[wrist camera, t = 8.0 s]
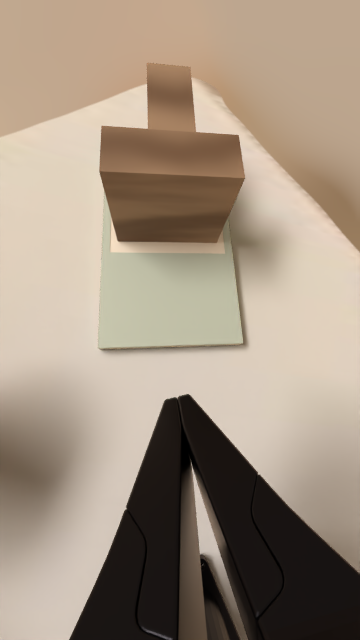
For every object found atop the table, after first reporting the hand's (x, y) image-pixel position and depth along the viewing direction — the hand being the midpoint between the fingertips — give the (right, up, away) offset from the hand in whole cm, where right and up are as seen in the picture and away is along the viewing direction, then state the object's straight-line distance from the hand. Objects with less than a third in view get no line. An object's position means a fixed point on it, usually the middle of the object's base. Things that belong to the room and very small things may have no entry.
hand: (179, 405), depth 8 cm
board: (-1, +12, +17) cm, 21 cm away
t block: (-1, +16, +17) cm, 24 cm away
